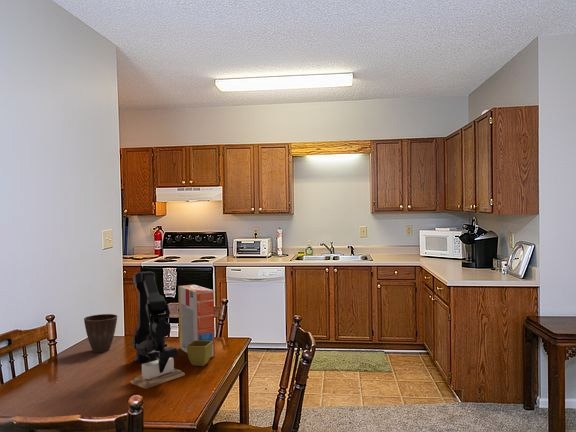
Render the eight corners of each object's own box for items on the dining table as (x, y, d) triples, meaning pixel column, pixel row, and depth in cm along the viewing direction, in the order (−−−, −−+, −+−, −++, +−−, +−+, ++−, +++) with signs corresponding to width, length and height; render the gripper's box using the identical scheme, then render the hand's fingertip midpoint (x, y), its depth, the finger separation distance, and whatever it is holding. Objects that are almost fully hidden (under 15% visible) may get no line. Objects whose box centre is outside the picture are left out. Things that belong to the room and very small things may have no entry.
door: (141, 377, 180) (141, 364, 180) (167, 368, 189) (167, 356, 189) (148, 379, 178) (147, 366, 178) (173, 370, 187) (173, 358, 187)
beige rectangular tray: (130, 383, 179) (130, 376, 179) (168, 370, 194) (168, 364, 194) (146, 388, 173) (145, 381, 173) (184, 375, 187) (184, 368, 187)
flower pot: (206, 368, 196) (205, 346, 196) (186, 367, 198) (186, 345, 198) (213, 361, 204) (213, 340, 204) (194, 360, 206) (194, 340, 206)
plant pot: (106, 344, 236) (105, 312, 236) (124, 348, 227) (123, 315, 227) (78, 351, 224) (77, 318, 224) (96, 356, 215) (95, 321, 215)
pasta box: (214, 356, 212) (213, 290, 211) (198, 360, 207) (196, 292, 207) (195, 345, 231) (194, 284, 231) (179, 348, 226) (178, 286, 226)
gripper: (125, 332, 183) (125, 372, 183) (154, 339, 171) (155, 382, 171) (149, 326, 192) (150, 365, 192) (178, 333, 180) (179, 374, 180)
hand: (157, 371), depth 183 cm, fingers closed on door, 4 cm apart
